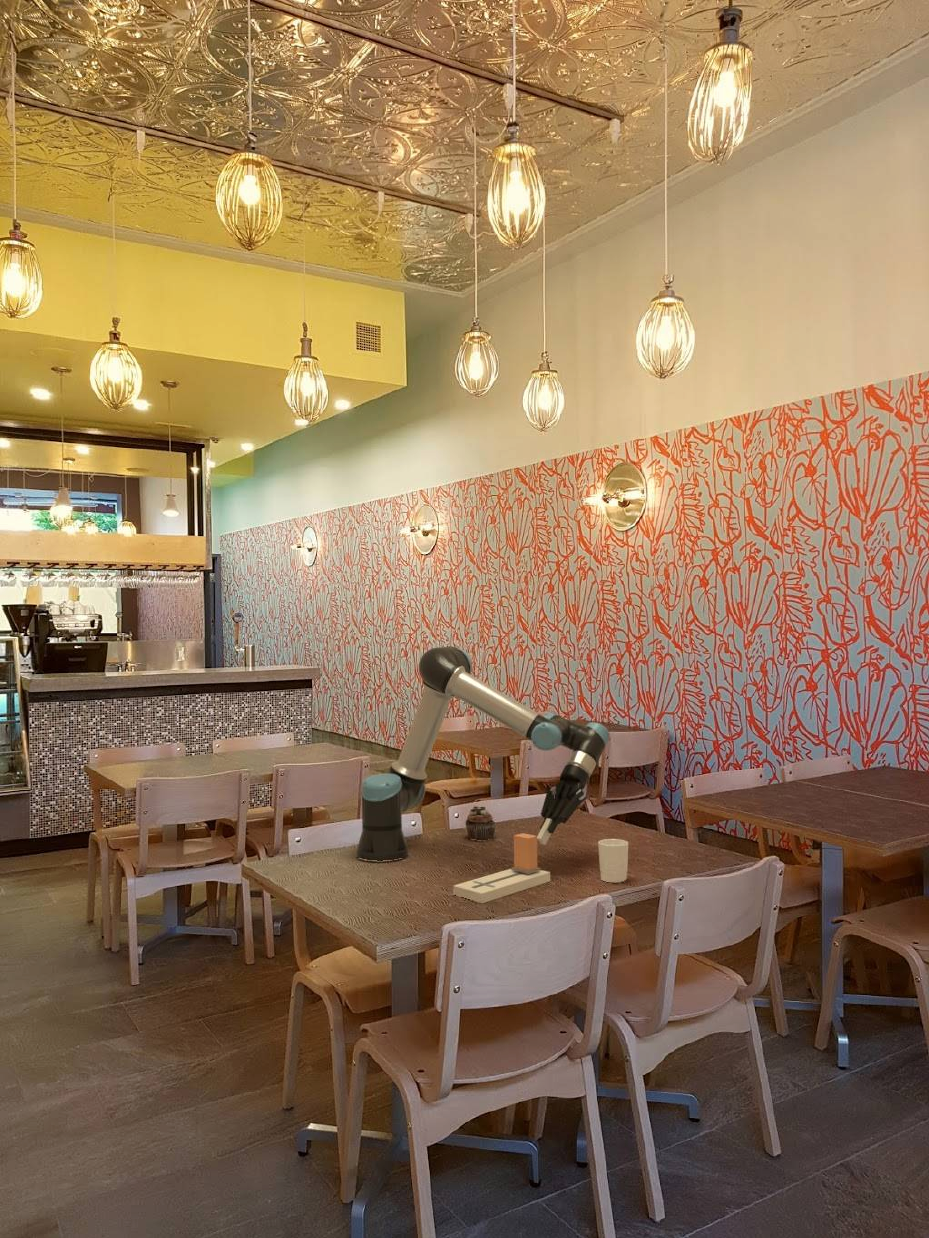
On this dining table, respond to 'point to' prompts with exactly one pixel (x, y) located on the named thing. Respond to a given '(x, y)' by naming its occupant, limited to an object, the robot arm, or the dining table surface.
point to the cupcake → (480, 824)
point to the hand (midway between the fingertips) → (540, 841)
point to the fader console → (499, 885)
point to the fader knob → (525, 853)
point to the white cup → (613, 859)
